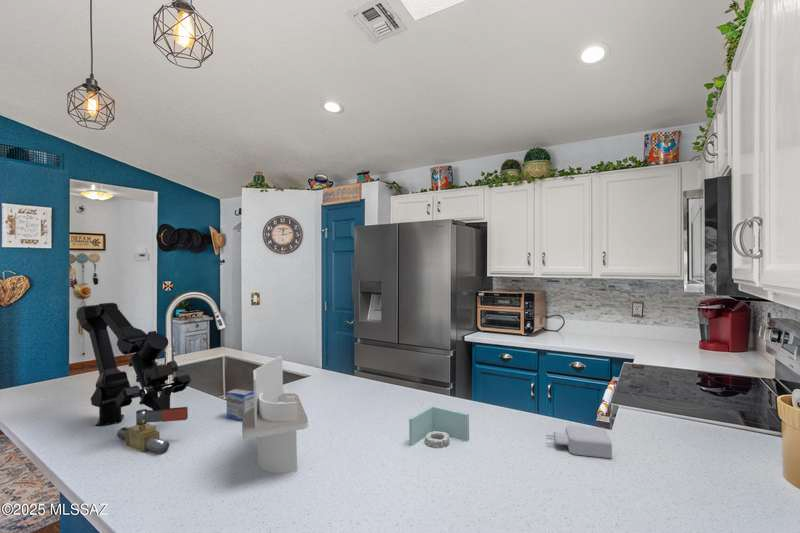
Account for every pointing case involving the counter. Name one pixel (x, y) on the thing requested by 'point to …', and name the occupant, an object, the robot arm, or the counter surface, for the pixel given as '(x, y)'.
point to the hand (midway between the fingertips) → (166, 414)
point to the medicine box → (239, 403)
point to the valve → (143, 438)
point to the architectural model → (274, 419)
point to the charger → (585, 441)
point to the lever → (161, 415)
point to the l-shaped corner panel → (438, 426)
